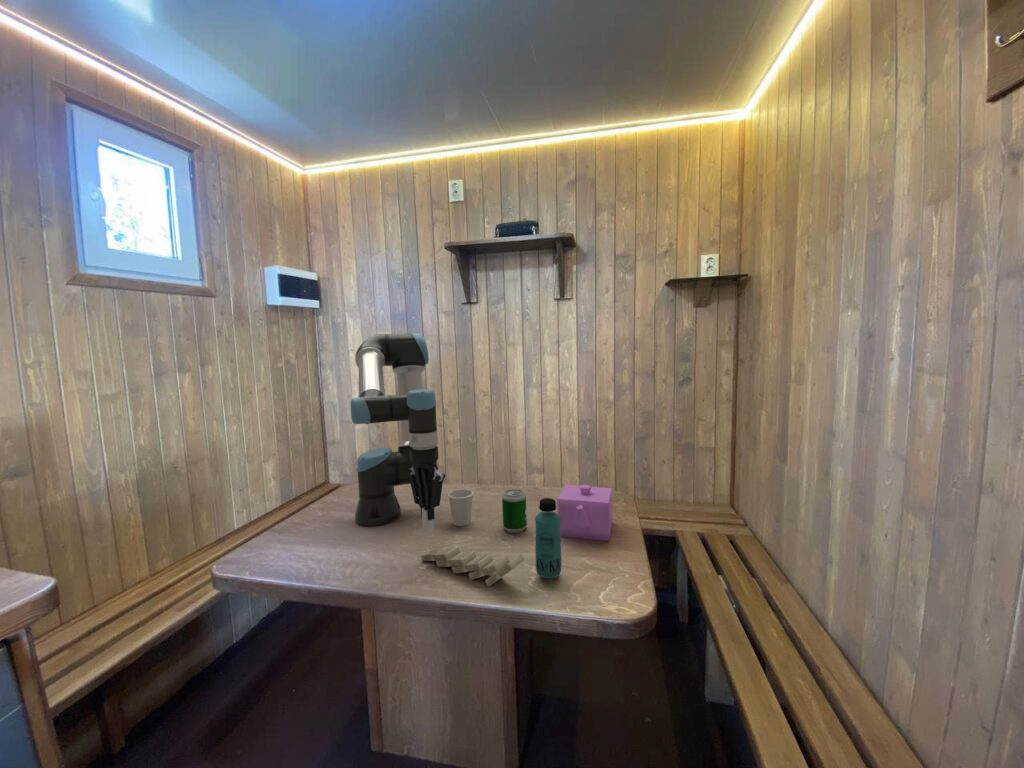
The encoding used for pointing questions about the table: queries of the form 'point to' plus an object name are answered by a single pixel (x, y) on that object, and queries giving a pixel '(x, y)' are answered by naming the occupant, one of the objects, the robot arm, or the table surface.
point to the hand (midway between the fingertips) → (428, 530)
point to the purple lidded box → (585, 512)
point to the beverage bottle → (548, 540)
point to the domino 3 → (473, 564)
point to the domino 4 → (489, 568)
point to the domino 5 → (504, 570)
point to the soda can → (514, 511)
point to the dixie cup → (461, 506)
